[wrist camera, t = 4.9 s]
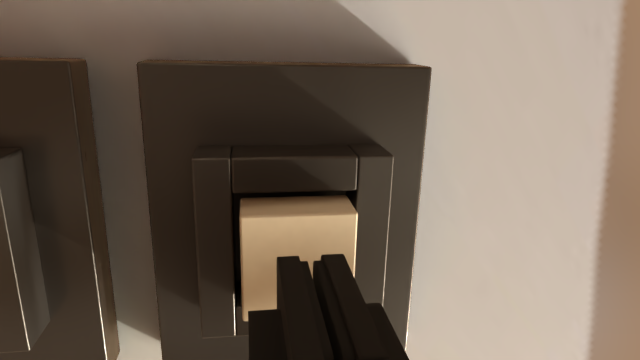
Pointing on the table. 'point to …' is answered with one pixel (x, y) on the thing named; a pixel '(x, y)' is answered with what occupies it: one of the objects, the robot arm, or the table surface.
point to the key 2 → (290, 240)
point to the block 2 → (275, 179)
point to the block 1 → (52, 217)
